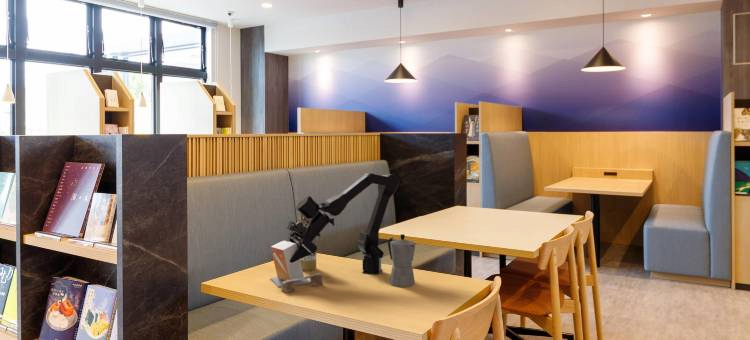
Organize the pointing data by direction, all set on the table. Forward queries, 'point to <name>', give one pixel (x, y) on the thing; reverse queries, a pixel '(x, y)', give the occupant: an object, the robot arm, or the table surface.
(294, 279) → the steel rod
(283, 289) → the rod stand
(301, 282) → the mat
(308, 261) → the paper tube
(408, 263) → the coffeepot
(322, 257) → the table surface
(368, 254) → the robot arm
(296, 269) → the small box
